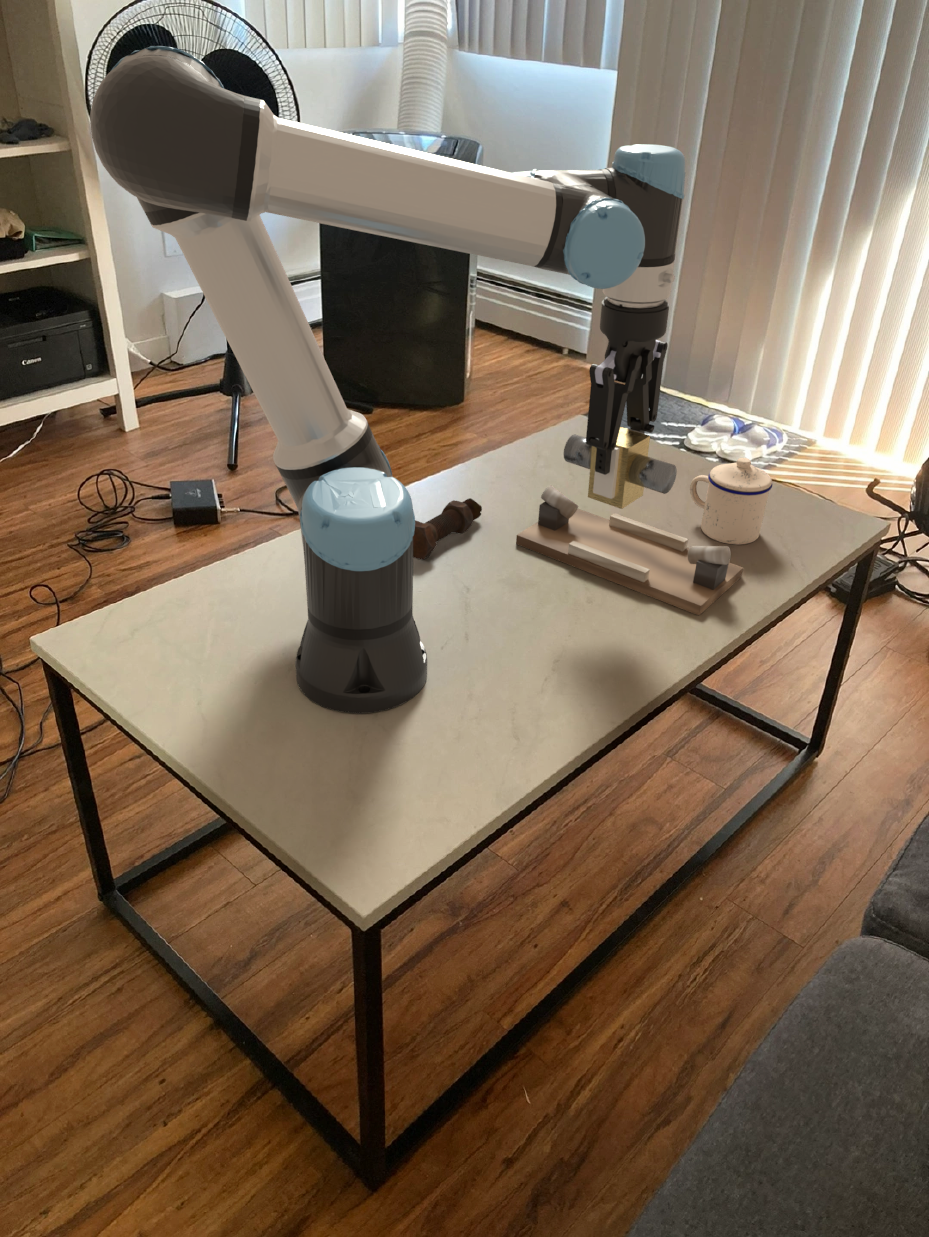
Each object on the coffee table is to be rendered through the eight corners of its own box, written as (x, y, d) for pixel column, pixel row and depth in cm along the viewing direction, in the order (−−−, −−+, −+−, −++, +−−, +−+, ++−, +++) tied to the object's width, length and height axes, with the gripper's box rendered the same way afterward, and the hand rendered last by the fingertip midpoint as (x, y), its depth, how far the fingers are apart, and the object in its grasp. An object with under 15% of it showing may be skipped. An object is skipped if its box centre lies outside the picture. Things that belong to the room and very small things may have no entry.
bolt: (477, 531, 149) (417, 567, 138) (454, 508, 150) (393, 542, 139) (495, 506, 145) (435, 542, 135) (472, 482, 146) (410, 516, 135)
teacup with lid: (771, 531, 148) (787, 459, 142) (743, 552, 143) (759, 479, 136) (699, 506, 155) (712, 436, 148) (670, 525, 149) (682, 454, 142)
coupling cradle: (699, 615, 128) (708, 567, 124) (515, 543, 142) (518, 498, 138) (741, 577, 137) (751, 531, 133) (564, 513, 151) (568, 469, 147)
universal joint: (653, 520, 119) (661, 458, 114) (558, 487, 126) (562, 428, 122) (674, 505, 122) (683, 445, 118) (580, 474, 129) (584, 416, 125)
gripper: (621, 323, 103) (602, 521, 116) (704, 288, 114) (678, 472, 127) (562, 309, 107) (549, 503, 120) (648, 276, 118) (628, 456, 131)
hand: (616, 486), depth 123 cm, fingers closed on universal joint, 5 cm apart
